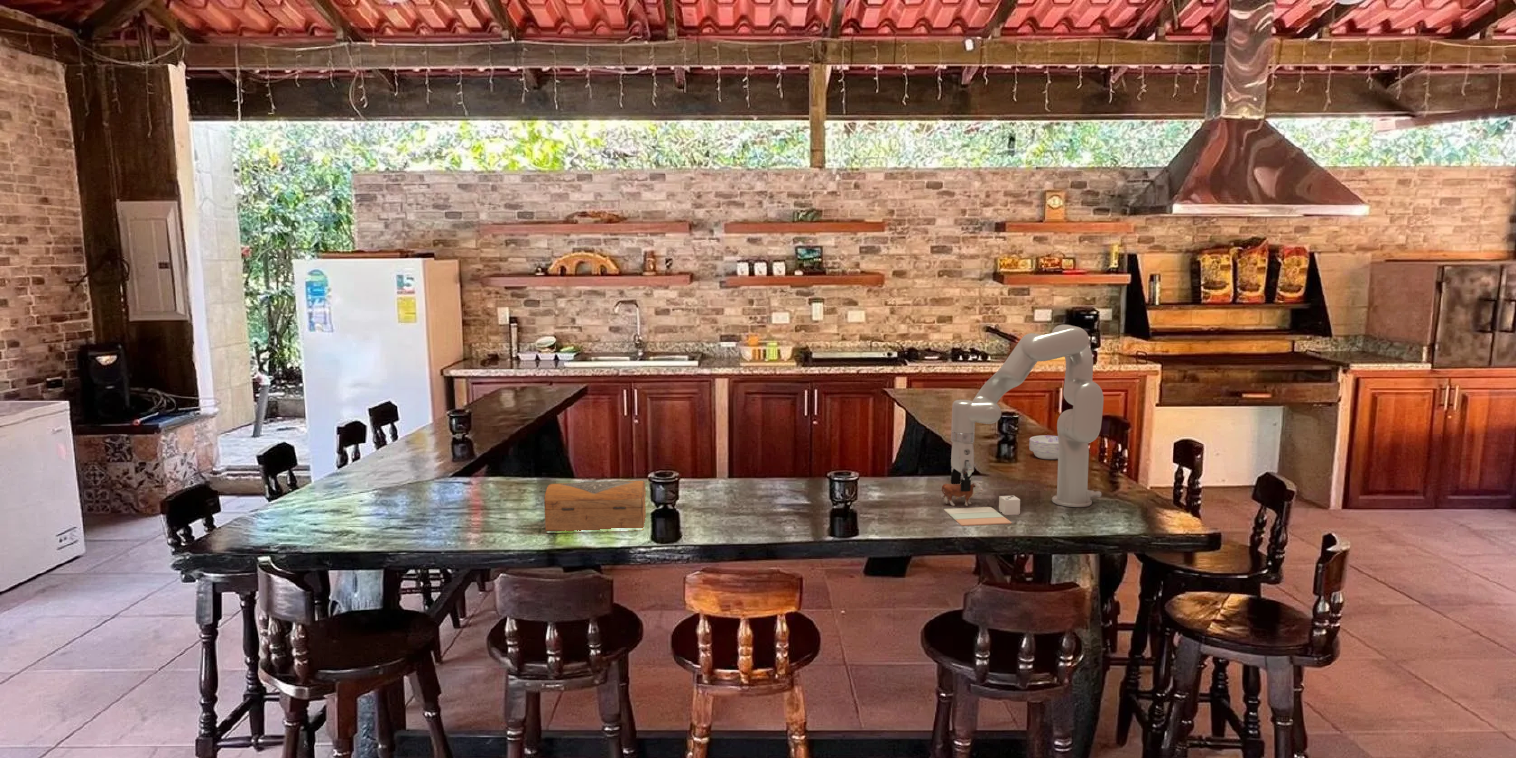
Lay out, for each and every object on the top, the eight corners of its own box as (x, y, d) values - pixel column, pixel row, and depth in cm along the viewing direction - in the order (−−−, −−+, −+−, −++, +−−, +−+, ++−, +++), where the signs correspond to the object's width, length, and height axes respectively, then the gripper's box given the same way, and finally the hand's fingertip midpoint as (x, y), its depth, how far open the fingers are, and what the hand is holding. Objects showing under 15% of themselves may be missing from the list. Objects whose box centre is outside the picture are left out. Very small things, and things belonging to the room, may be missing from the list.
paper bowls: (1022, 458, 362) (1023, 439, 361) (1037, 451, 373) (1038, 433, 372) (1059, 463, 352) (1059, 443, 351) (1073, 456, 364) (1073, 437, 363)
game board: (990, 508, 289) (990, 506, 289) (1011, 523, 272) (1011, 522, 272) (943, 510, 288) (943, 508, 288) (961, 525, 270) (961, 524, 270)
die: (1013, 510, 287) (1014, 495, 286) (1019, 514, 282) (1020, 499, 281) (998, 511, 286) (999, 496, 285) (1004, 515, 281) (1005, 500, 281)
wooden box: (647, 516, 285) (646, 475, 283) (643, 532, 269) (642, 488, 267) (554, 519, 284) (552, 477, 282) (544, 535, 267) (542, 490, 266)
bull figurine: (982, 507, 290) (983, 483, 289) (941, 505, 293) (941, 482, 292) (982, 504, 294) (982, 480, 293) (941, 502, 297) (941, 479, 296)
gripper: (982, 442, 282) (980, 494, 285) (964, 432, 299) (962, 481, 302) (960, 442, 282) (958, 494, 284) (943, 432, 299) (941, 481, 301)
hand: (960, 487), depth 293 cm, fingers open, 9 cm apart
